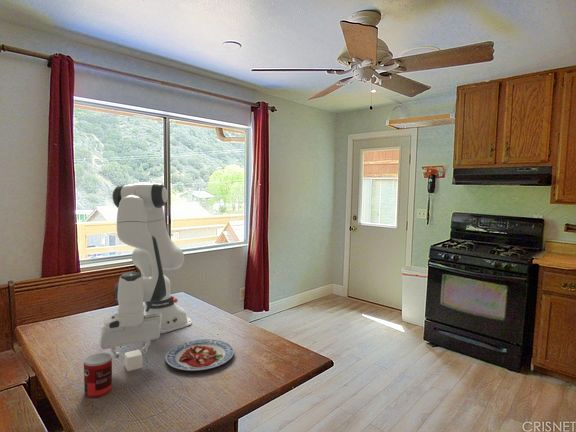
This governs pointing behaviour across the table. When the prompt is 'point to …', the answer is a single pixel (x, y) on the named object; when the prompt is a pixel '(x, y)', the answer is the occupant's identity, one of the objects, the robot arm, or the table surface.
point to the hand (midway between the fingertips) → (130, 355)
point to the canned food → (97, 375)
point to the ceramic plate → (199, 354)
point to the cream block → (133, 360)
